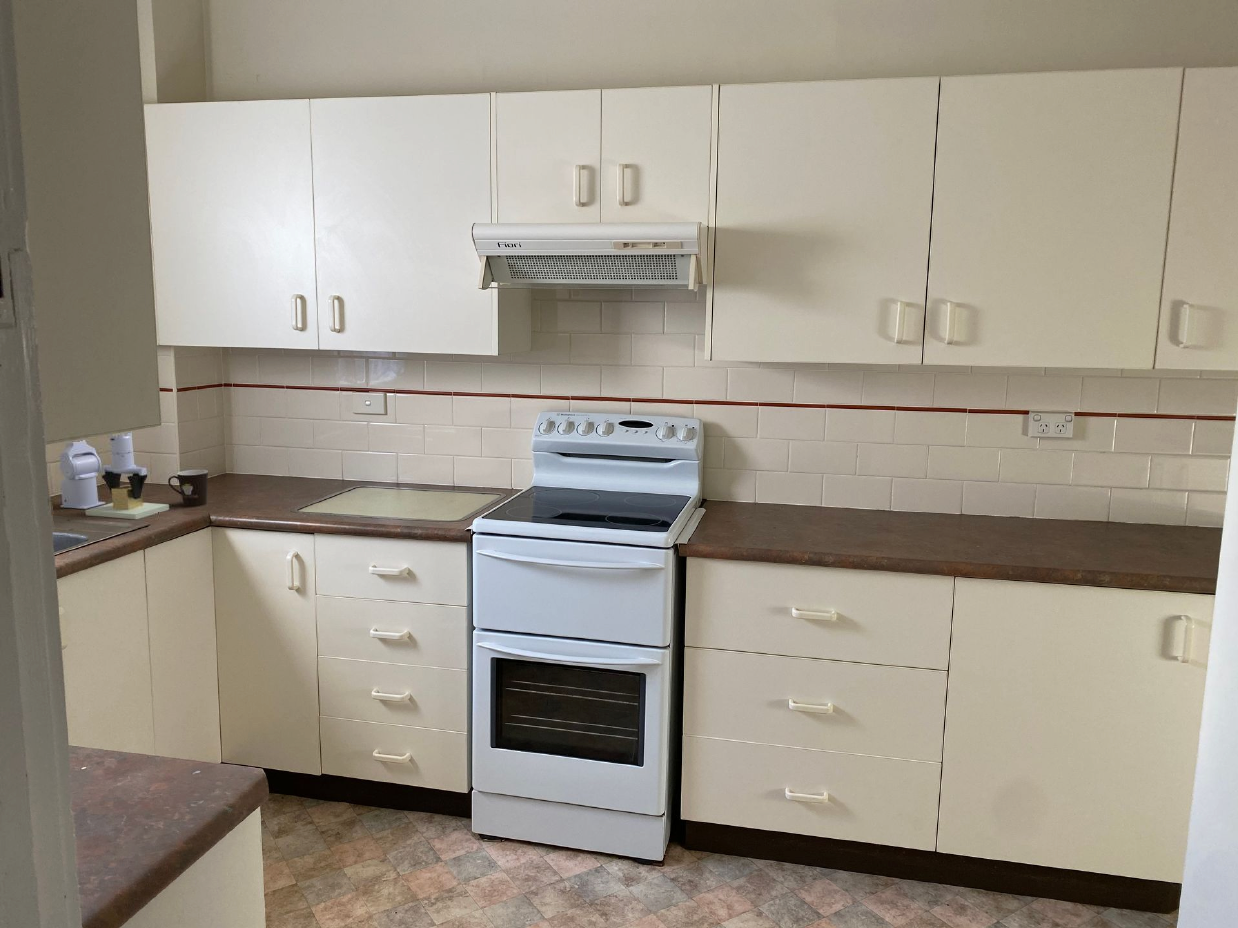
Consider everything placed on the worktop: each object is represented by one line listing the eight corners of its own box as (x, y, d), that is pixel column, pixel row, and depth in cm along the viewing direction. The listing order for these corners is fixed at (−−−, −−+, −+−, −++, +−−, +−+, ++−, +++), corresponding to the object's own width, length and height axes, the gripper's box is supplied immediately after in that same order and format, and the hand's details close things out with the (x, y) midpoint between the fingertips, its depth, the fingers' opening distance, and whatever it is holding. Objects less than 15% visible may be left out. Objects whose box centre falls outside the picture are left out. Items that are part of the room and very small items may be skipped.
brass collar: (113, 508, 278) (111, 488, 277) (128, 504, 283) (126, 484, 282) (128, 509, 276) (126, 489, 275) (143, 505, 282) (141, 486, 281)
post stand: (85, 515, 276) (83, 496, 275) (120, 505, 289) (118, 488, 288) (135, 519, 271) (134, 500, 270) (169, 509, 283) (167, 491, 282)
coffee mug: (216, 503, 292) (213, 471, 290) (191, 508, 285) (188, 476, 283) (192, 499, 298) (190, 467, 296) (167, 504, 290) (164, 472, 289)
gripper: (152, 451, 278) (156, 496, 281) (113, 449, 282) (117, 493, 285) (134, 455, 272) (138, 501, 274) (94, 452, 276) (98, 498, 278)
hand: (126, 497), depth 279 cm, fingers open, 7 cm apart
